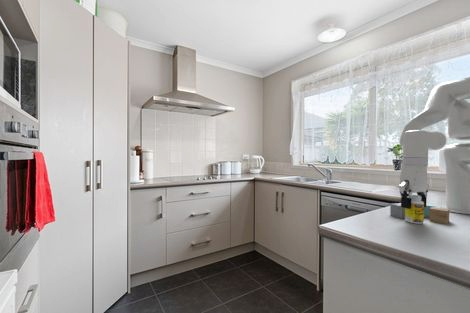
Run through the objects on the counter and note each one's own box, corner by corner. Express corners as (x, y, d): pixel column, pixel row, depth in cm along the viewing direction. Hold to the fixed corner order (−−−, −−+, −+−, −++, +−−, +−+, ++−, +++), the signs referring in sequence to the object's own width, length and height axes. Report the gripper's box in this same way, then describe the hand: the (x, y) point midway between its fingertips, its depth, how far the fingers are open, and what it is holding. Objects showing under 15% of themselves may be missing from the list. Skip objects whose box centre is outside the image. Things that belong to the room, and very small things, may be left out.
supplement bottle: (414, 224, 81) (415, 197, 81) (401, 220, 87) (401, 194, 87) (427, 224, 82) (428, 197, 82) (413, 219, 87) (414, 194, 87)
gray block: (399, 214, 95) (399, 203, 95) (411, 217, 90) (411, 205, 90) (390, 215, 94) (390, 203, 94) (401, 218, 89) (401, 206, 89)
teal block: (418, 214, 97) (418, 202, 96) (433, 216, 94) (433, 204, 94) (419, 216, 92) (419, 204, 92) (435, 218, 90) (435, 206, 90)
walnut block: (432, 218, 89) (432, 206, 89) (449, 221, 86) (449, 209, 85) (429, 221, 86) (429, 208, 86) (446, 224, 82) (447, 211, 82)
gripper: (416, 162, 91) (415, 203, 91) (390, 161, 84) (389, 206, 84) (439, 163, 84) (438, 207, 84) (412, 162, 77) (411, 211, 77)
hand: (413, 207), depth 84 cm, fingers open, 9 cm apart
